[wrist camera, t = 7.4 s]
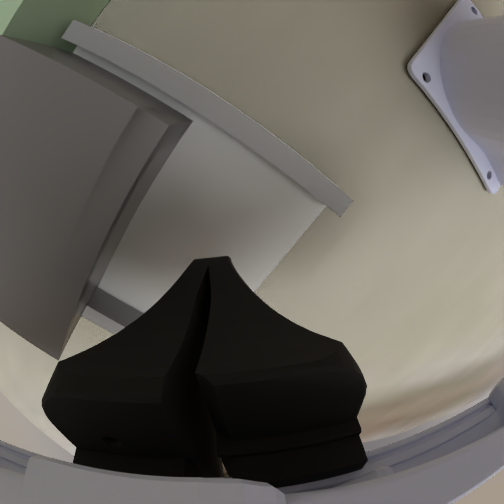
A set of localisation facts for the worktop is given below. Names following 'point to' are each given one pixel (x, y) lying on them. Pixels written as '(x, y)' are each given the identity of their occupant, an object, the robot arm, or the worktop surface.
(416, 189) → the worktop surface
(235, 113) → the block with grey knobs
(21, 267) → the grey open box
